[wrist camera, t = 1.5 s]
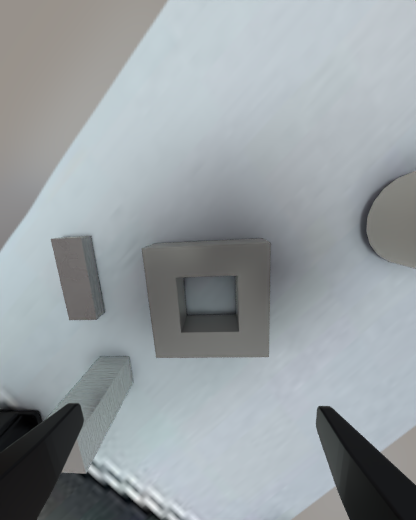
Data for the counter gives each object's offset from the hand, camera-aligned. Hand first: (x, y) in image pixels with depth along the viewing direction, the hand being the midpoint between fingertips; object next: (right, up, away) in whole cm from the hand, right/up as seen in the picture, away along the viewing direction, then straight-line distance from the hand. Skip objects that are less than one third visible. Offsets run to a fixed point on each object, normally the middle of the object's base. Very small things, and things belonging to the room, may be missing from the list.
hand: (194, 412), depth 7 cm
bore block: (+1, +3, +12) cm, 12 cm away
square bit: (-10, -7, +14) cm, 19 cm away
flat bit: (-12, +4, +13) cm, 18 cm away
